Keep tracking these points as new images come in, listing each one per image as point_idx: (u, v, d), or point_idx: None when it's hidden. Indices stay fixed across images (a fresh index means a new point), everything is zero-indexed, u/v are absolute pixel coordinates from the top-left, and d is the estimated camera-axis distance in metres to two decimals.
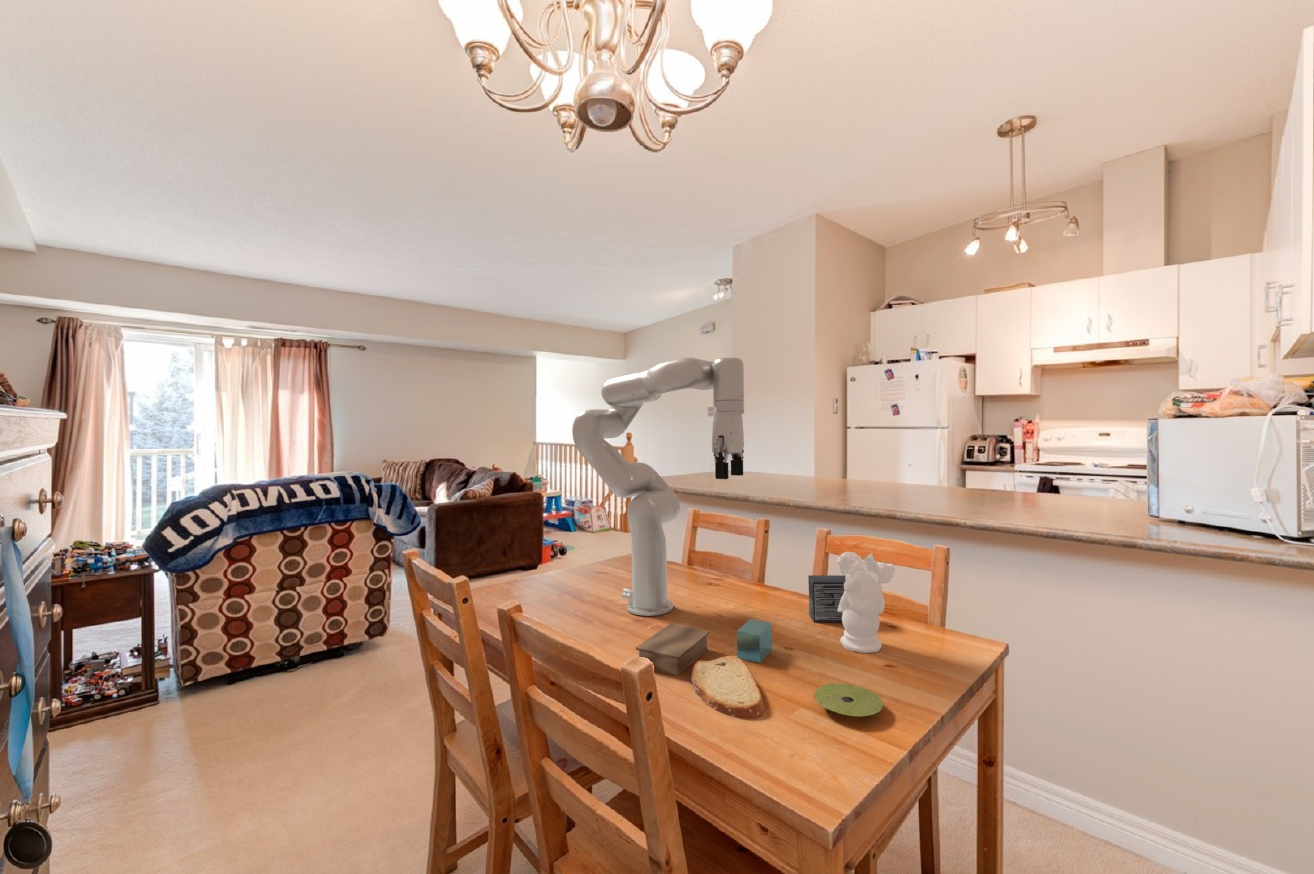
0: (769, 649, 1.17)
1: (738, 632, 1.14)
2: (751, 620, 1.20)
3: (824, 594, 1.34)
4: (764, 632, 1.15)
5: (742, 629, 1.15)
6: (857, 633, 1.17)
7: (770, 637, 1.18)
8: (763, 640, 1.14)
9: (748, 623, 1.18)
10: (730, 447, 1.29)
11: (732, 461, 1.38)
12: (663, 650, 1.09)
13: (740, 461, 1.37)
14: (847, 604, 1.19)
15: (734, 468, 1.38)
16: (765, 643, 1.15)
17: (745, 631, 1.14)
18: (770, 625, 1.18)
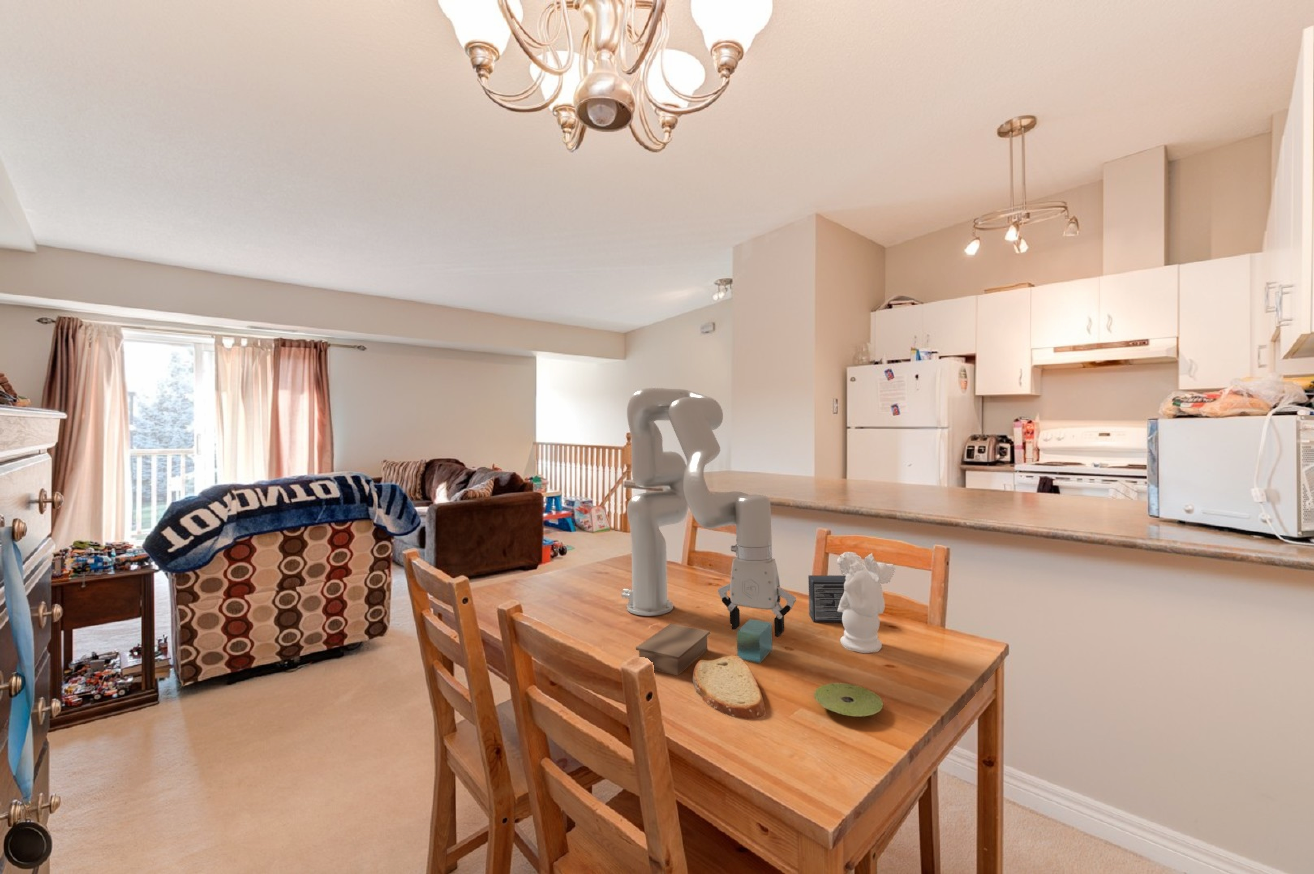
0: (769, 649, 1.17)
1: (738, 632, 1.14)
2: (751, 620, 1.20)
3: (824, 594, 1.34)
4: (764, 632, 1.15)
5: (742, 629, 1.15)
6: (857, 633, 1.17)
7: (770, 637, 1.18)
8: (763, 640, 1.14)
9: (748, 623, 1.18)
10: None
11: (735, 613, 1.17)
12: (663, 650, 1.09)
13: (738, 610, 1.19)
14: (847, 604, 1.19)
15: (736, 621, 1.18)
16: (765, 643, 1.15)
17: (745, 631, 1.14)
18: (770, 625, 1.18)
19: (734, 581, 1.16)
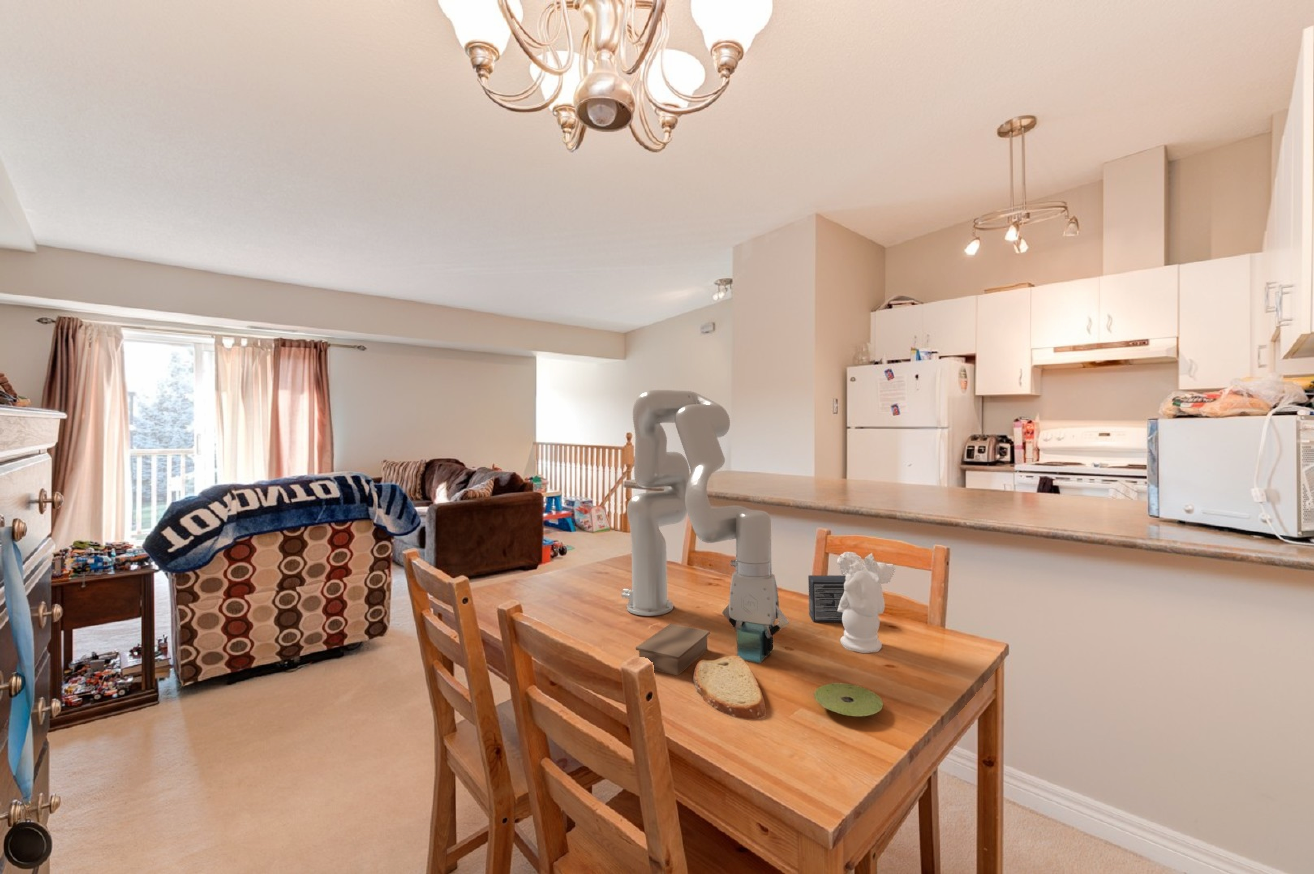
0: None
1: (738, 632, 1.14)
2: None
3: (824, 594, 1.34)
4: (764, 632, 1.15)
5: (742, 629, 1.15)
6: (857, 633, 1.17)
7: None
8: (763, 640, 1.14)
9: (748, 623, 1.18)
10: None
11: None
12: (663, 650, 1.09)
13: None
14: (847, 604, 1.19)
15: None
16: None
17: (745, 631, 1.14)
18: None
19: (733, 596, 1.16)
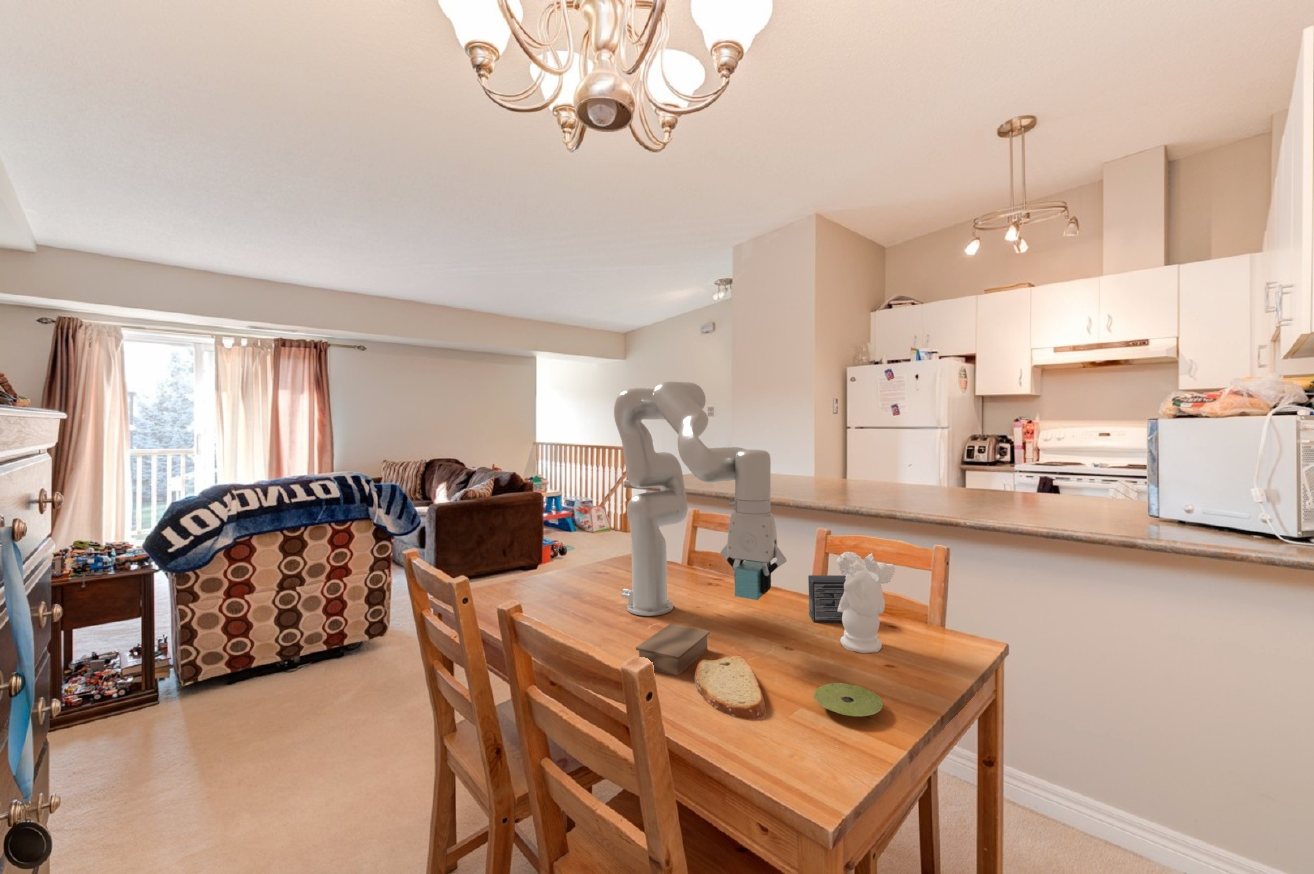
0: None
1: (736, 570, 1.14)
2: None
3: (824, 594, 1.34)
4: (762, 570, 1.15)
5: (740, 567, 1.15)
6: (857, 633, 1.17)
7: None
8: None
9: (746, 562, 1.18)
10: None
11: None
12: (663, 650, 1.09)
13: None
14: (847, 604, 1.19)
15: None
16: None
17: (742, 569, 1.14)
18: None
19: (731, 535, 1.16)
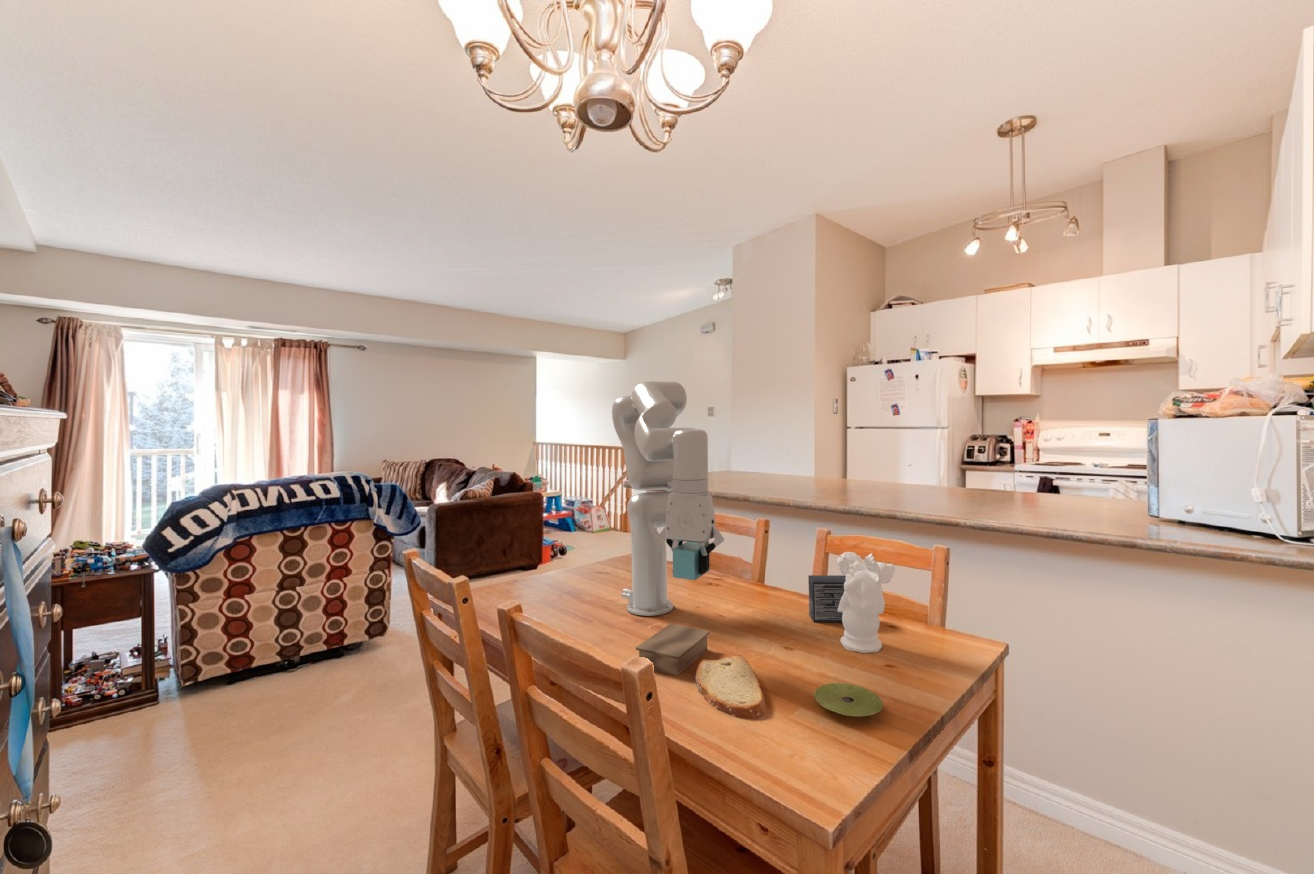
0: None
1: (674, 550, 1.13)
2: (689, 542, 1.19)
3: (824, 594, 1.34)
4: (700, 550, 1.13)
5: (678, 548, 1.13)
6: (857, 633, 1.17)
7: None
8: (698, 558, 1.13)
9: (686, 544, 1.17)
10: None
11: None
12: (663, 650, 1.09)
13: None
14: (847, 604, 1.19)
15: None
16: None
17: (680, 549, 1.12)
18: None
19: (669, 515, 1.14)
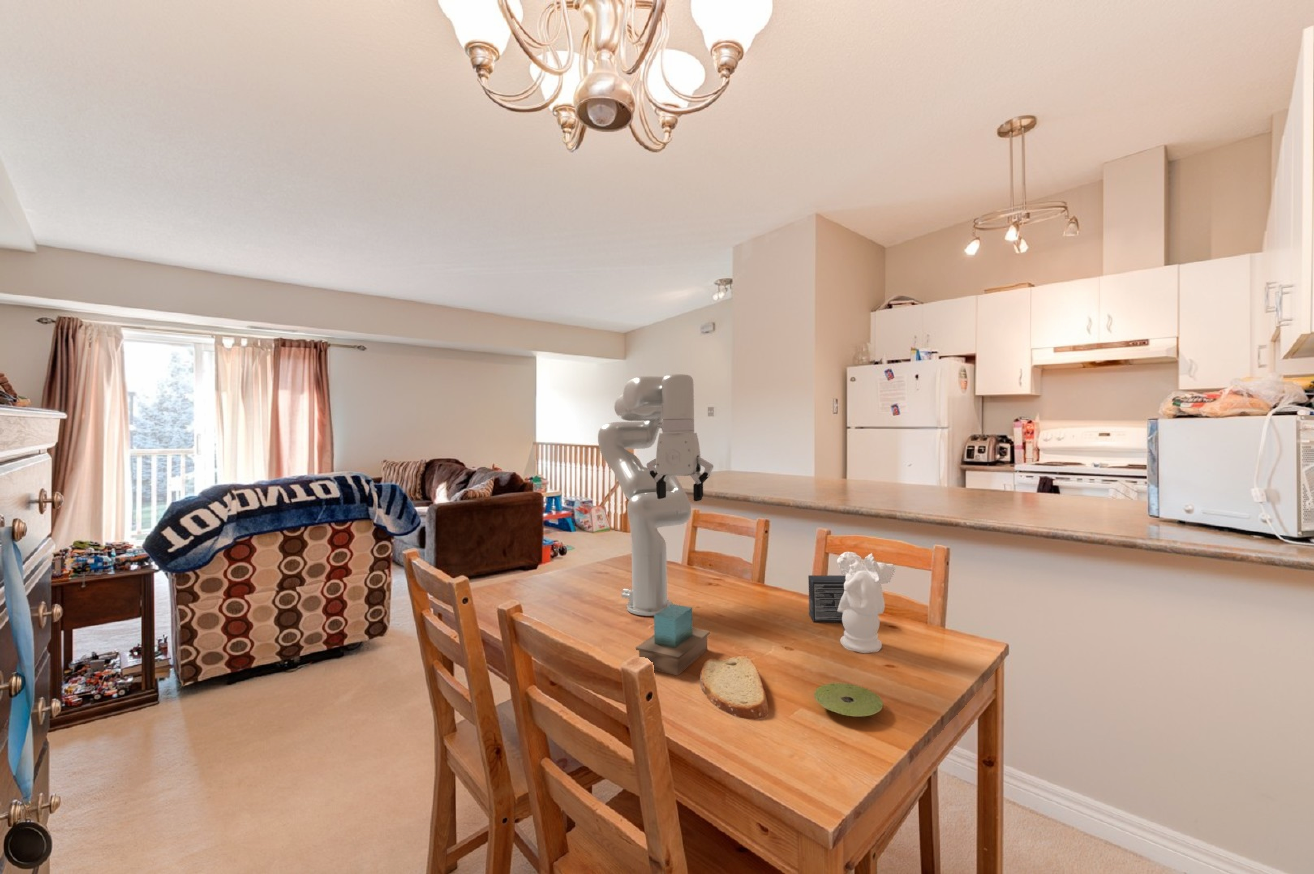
0: (689, 634, 1.16)
1: (655, 617, 1.13)
2: (672, 605, 1.19)
3: (824, 594, 1.34)
4: (682, 616, 1.13)
5: (659, 614, 1.13)
6: (857, 633, 1.17)
7: (690, 622, 1.17)
8: (680, 624, 1.12)
9: (669, 608, 1.17)
10: None
11: (660, 484, 1.28)
12: (663, 650, 1.09)
13: (665, 482, 1.30)
14: (847, 604, 1.19)
15: (662, 491, 1.29)
16: (682, 628, 1.13)
17: (661, 616, 1.12)
18: (690, 610, 1.17)
19: (659, 453, 1.26)
